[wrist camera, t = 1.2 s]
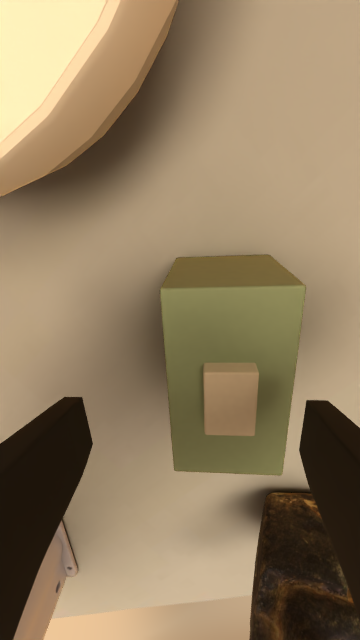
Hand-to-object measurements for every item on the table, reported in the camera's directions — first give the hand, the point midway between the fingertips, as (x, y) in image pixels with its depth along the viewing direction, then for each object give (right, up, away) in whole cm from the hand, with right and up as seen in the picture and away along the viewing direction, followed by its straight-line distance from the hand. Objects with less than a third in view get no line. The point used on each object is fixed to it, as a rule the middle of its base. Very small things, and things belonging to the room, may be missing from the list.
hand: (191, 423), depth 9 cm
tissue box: (+2, +3, +8) cm, 8 cm away
